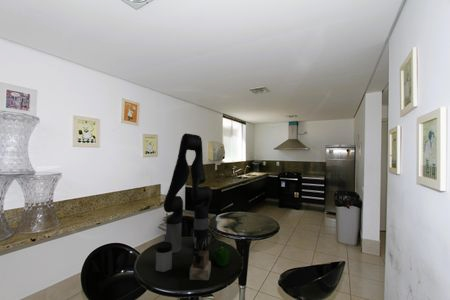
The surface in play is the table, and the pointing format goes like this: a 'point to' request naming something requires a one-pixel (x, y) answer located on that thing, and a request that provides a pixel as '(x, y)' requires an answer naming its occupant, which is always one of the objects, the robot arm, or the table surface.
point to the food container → (208, 240)
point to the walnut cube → (202, 260)
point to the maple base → (200, 272)
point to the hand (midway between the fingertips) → (200, 259)
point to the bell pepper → (222, 256)
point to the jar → (163, 256)
